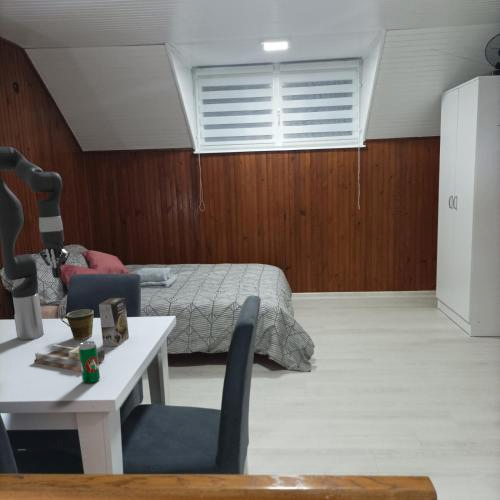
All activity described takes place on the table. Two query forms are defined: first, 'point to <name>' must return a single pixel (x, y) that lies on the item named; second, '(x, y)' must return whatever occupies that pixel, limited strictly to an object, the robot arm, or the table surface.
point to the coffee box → (113, 321)
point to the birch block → (74, 354)
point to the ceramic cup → (80, 323)
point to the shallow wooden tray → (63, 358)
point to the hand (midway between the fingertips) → (57, 277)
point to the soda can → (89, 362)
